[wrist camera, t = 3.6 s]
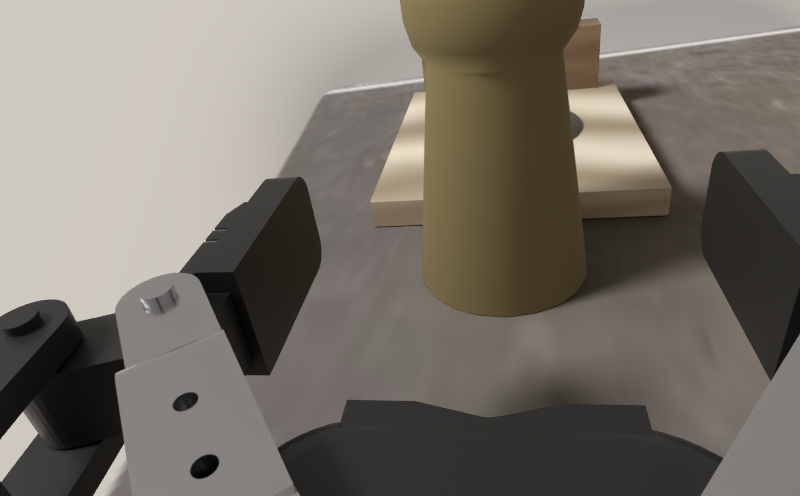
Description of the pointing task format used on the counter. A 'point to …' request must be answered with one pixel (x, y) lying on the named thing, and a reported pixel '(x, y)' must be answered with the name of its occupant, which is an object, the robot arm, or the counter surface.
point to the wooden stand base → (592, 136)
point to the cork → (498, 154)
